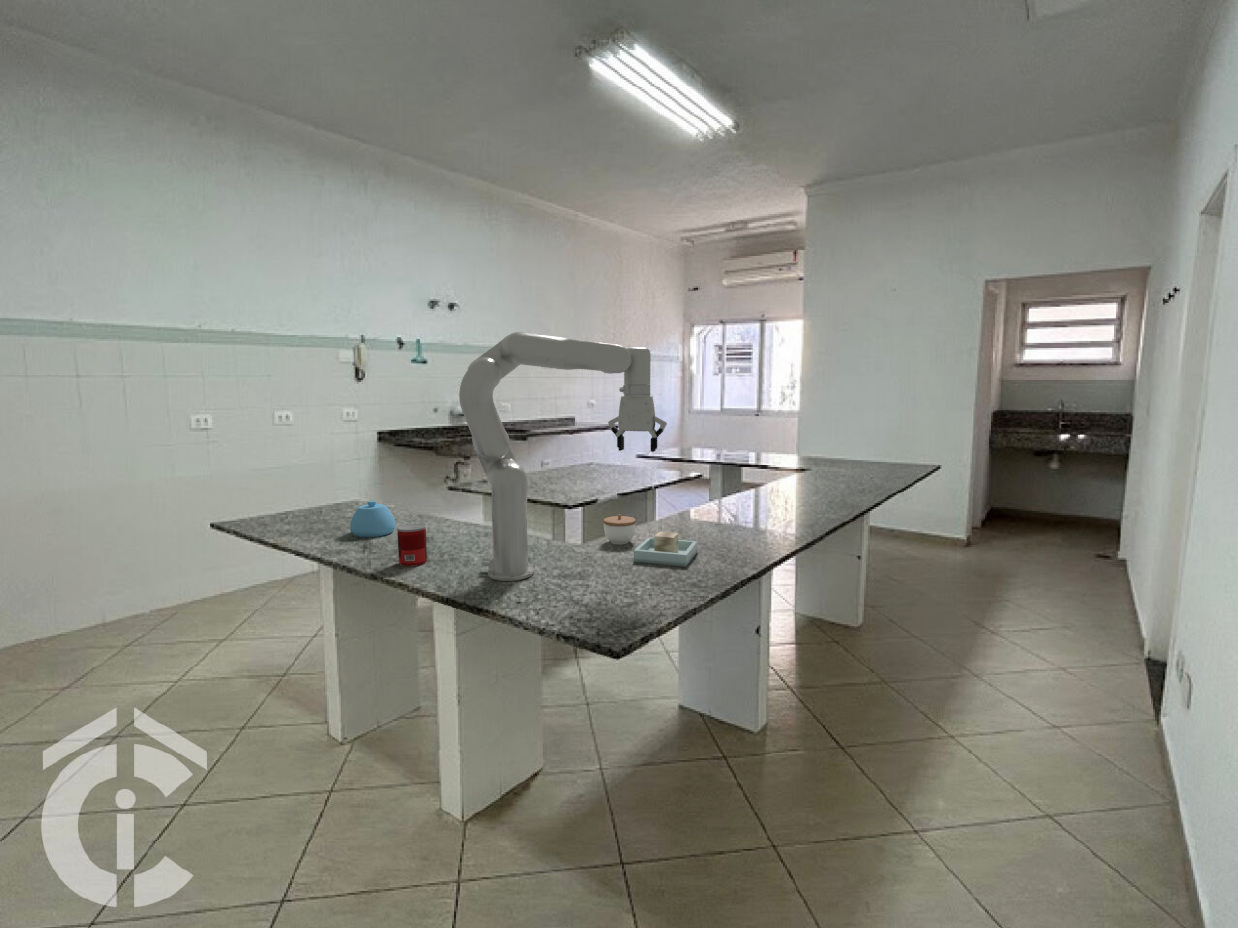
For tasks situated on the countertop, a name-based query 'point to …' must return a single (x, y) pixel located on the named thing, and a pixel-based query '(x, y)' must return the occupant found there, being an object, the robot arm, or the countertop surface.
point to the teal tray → (665, 553)
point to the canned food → (412, 544)
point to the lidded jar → (619, 529)
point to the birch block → (666, 542)
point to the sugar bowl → (372, 520)
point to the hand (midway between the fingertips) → (637, 450)
